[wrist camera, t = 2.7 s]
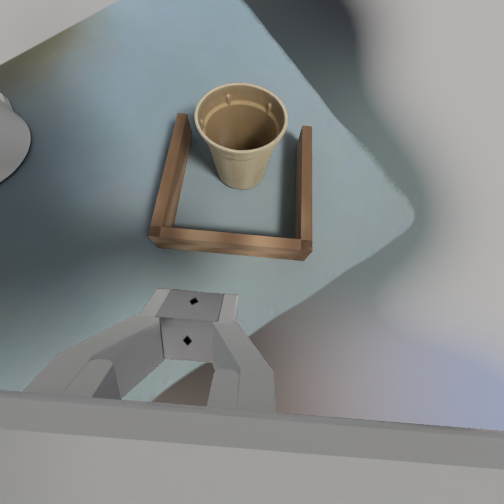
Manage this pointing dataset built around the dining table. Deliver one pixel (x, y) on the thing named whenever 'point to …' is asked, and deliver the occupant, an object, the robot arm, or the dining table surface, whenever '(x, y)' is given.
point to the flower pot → (241, 130)
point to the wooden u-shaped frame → (222, 241)
